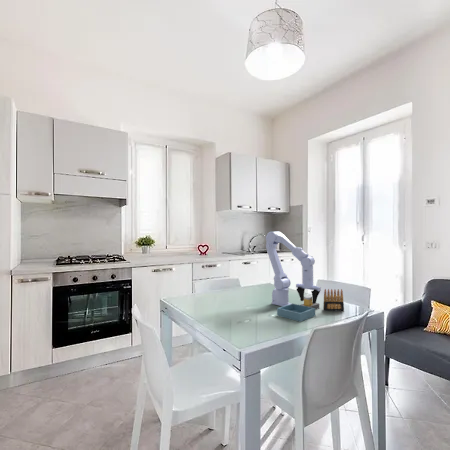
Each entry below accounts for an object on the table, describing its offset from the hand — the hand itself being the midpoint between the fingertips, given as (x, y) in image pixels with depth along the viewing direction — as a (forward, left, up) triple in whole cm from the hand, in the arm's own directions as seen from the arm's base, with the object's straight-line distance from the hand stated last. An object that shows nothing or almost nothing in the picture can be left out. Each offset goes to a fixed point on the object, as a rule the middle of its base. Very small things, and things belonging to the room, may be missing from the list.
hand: (308, 302), depth 162 cm
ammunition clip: (+11, +8, -4) cm, 14 cm away
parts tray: (+2, -15, -4) cm, 16 cm away
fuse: (0, 0, -4) cm, 4 cm away
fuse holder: (0, 0, -4) cm, 4 cm away
